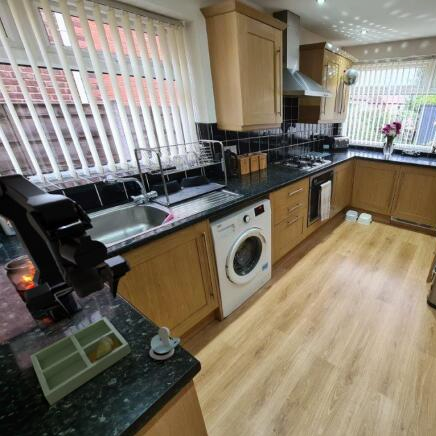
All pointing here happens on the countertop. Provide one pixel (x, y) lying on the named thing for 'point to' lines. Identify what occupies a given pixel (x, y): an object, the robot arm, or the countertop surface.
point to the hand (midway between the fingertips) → (93, 307)
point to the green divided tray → (76, 359)
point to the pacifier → (163, 344)
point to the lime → (104, 347)
